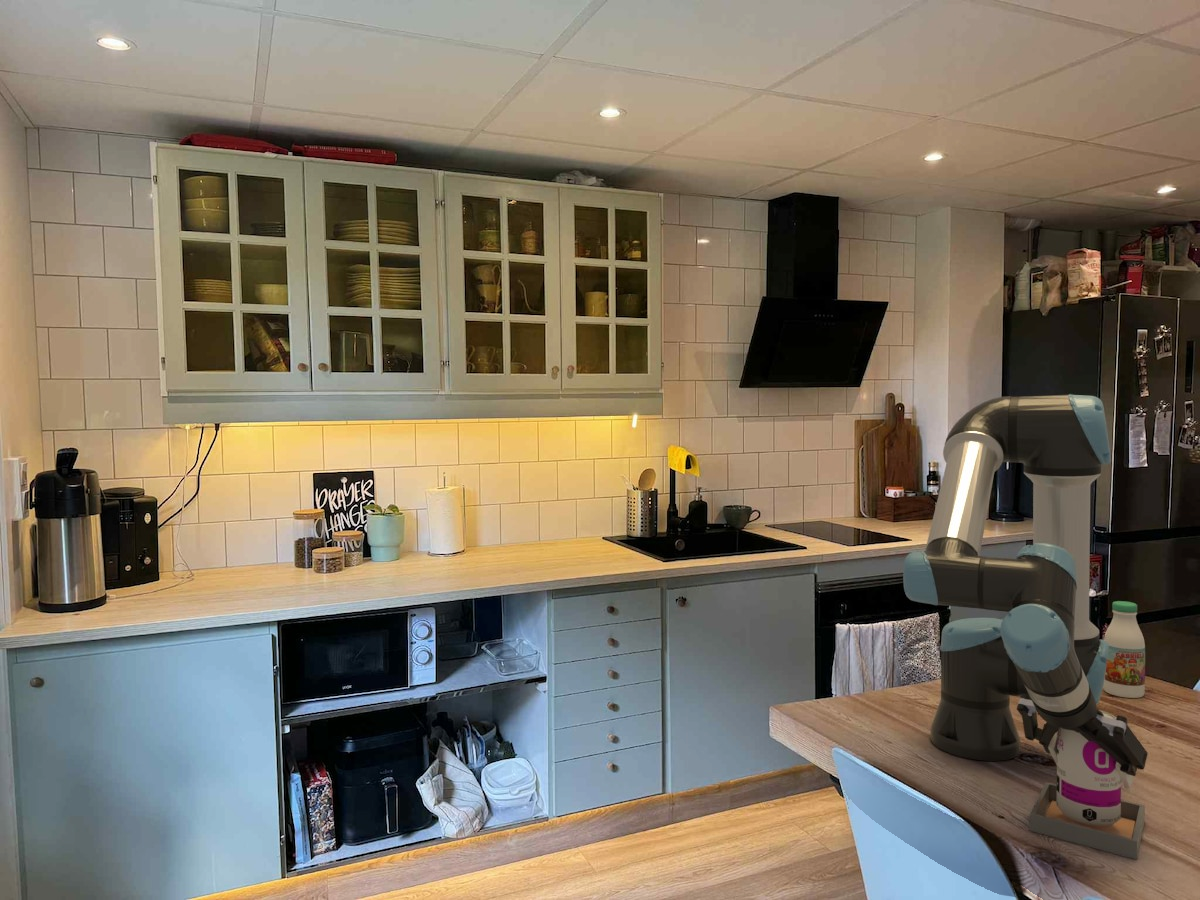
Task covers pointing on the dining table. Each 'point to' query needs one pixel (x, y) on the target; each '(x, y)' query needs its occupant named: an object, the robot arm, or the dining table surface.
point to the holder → (1090, 826)
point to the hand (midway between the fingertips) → (1095, 770)
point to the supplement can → (1087, 780)
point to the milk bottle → (1125, 653)
